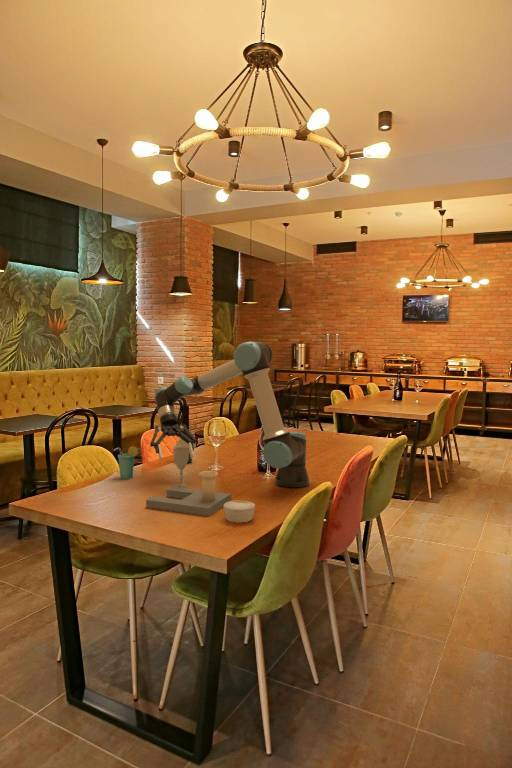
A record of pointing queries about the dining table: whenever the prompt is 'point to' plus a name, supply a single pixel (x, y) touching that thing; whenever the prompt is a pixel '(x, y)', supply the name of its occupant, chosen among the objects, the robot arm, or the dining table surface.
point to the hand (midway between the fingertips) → (177, 457)
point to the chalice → (181, 460)
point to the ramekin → (239, 511)
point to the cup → (127, 462)
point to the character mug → (183, 443)
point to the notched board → (192, 498)
